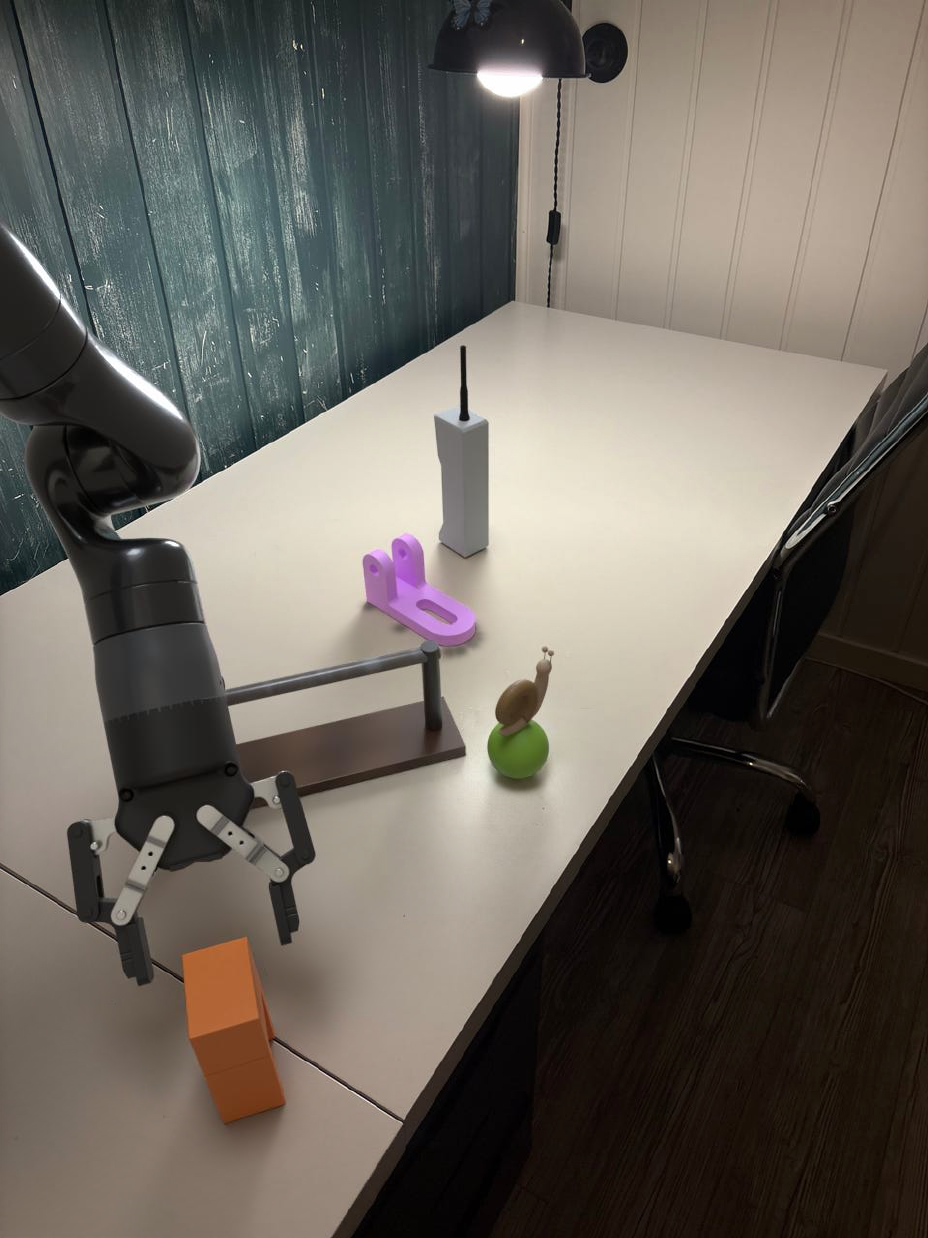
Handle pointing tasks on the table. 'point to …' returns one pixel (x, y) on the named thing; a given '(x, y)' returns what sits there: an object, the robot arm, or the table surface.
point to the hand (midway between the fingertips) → (218, 961)
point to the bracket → (414, 594)
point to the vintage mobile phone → (464, 473)
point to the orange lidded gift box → (231, 1029)
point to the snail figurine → (521, 726)
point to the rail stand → (354, 729)
